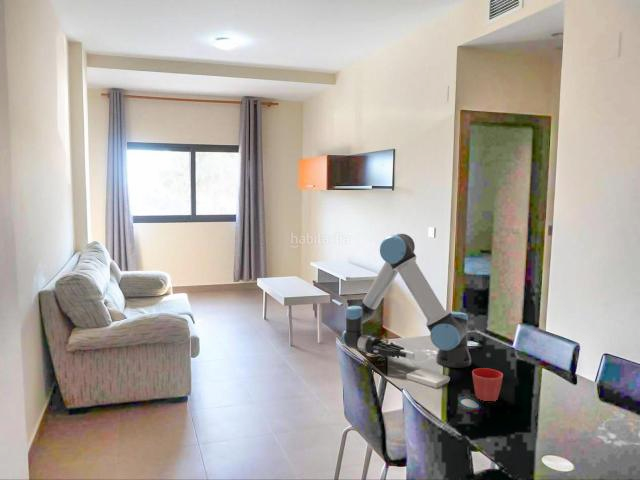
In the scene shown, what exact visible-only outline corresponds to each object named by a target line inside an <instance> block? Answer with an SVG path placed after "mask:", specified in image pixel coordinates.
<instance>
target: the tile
mask: <svg viewBox="0 0 640 480" xmlns="http://www.w3.org/2000/svg"><path fill="white" fill-rule="evenodd" d="M406 379H407V380H409V381H413V382H416V383H419V384H422V385H425V386H428V387H431V388H434V389H436V388H439V387H442V386H443V385H445V384H448V383H449V381H450V380H451V377H450V376H448V375H444V374H441V373H437V372H434V371H432V370H431V371H430V370H428V369H424V368H418V369H415V370H413V371H411V372H409V373H407V374H406ZM450 382H451V381H450Z"/></svg>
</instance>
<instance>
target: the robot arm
mask: <svg viewBox="0 0 640 480" xmlns="http://www.w3.org/2000/svg"><path fill="white" fill-rule="evenodd" d="M415 247H416V246H415V242H414V239H413V238H412V237H411V236H410V235H408V234H406V233H398V234H391V235H389V236H387V237H386V238H384V239H383V240H382V242H381V244H380V246H379V254H380V257H381V259H382V260H383V261H384V262H385V263H384V264H383V265H382V266H381V268H380V270H379V272H378V274H377V276H376V278H375V279H374V281H373V282H372V284H371V286H370V287H369V289H368V291H367V293H366V294H365V296H364V298H363V299H362V301H361V303H360V305H350V306H347V308H346V311H345V326H346V328H345V330H343V332H342V333H341V336H340V343H341V342H342V343H343V344H345V345H346V346H345V347H347V348H350V349H354V350H357V351H361V352H363V353H366V354H367V353H368V354H371V355H374V356H375V355H378V356H379V355H381V356H386V357H391V358H397V359H400V357H401V358H404V359H407V360H410V361H413V360H415V354H416V353H415V352H413V351H409V350H405V348H404V347H402V346H400V345H397V344H395V343H393V342H390V343H386V342H382V341H381V338H379V337H375V336H372V335H367V334H364V333H363V324H365V323H366V322H368V321H370V320H371V319H372V318H373V317H374V316H375V314H376V309H377V308H378V306H379V305H380V304H381V301H382V300H383V298H384V296H385V295H386V294H387V291H388V290H389V288H390V287H391V285H392V283H393V282H394V280H395V278H396V277H397V275H398V274H399V276H400V277H401V279H402V280H403V282H404V284H405V285H406V287H407V288H408V290H409V292H410V293H411V296H412V297H413V299H414V300H415V302H416V304H417V305H418V307H419V309H420V311H421V312H422V314H423V316H424V318H426V324H425V326H426V328H427V329H428V331H429V333H430V334H429V335H430V340H431V341H430V342H432V345H433V346H434V347H436V348H437V349H438V352H437V353H436V357H435V358H436V361H435V362H436V363H437V364H439V365H441V366H444V367H447V368H456V369H457V368H458V369H459V368H460V369H461V368H466V367H470V366H472V357H471V354H470V352H469V351H470V350H469V348H468V347H469V346H468V336H469V335H468V331H469V330H468V329H469V319H468V318H469V315H468V314H467V313H465V312H461V311H450V310H446V309H445V308H444V306H443V304H442V303H441V302H440V300H439V298H438V296H437V295H436V293H435V291H434V290H433V288H432V287H431V285H430V284H429V282H428V280H427V278H426V277H425V275H424V273H423V272H422V270H421V269H420V267H419V265H418V264H417V262H416V261H417V255H416V253H415ZM342 343H341V344H342ZM343 344H342V345H343Z"/></svg>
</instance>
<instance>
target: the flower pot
mask: <svg viewBox="0 0 640 480" xmlns="http://www.w3.org/2000/svg"><path fill="white" fill-rule="evenodd" d="M471 375H472V381H473V389H474V393H475V398H476V397H477V398H478V399H480V400H479V401H481V400H483V401H482V402H484V401H494V402H497V401H498V399H499V395H500V391H501V388H502V384H503V378H504V374H503V372H501V371H499V370H496V369H492V368H488V367H486V368H485V367H483V368H482V367H479V368H478V367H477V368H475V369H473V370H472V371H471ZM477 398H476V399H477ZM478 399H477V400H478ZM496 400H497V401H496Z"/></svg>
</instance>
